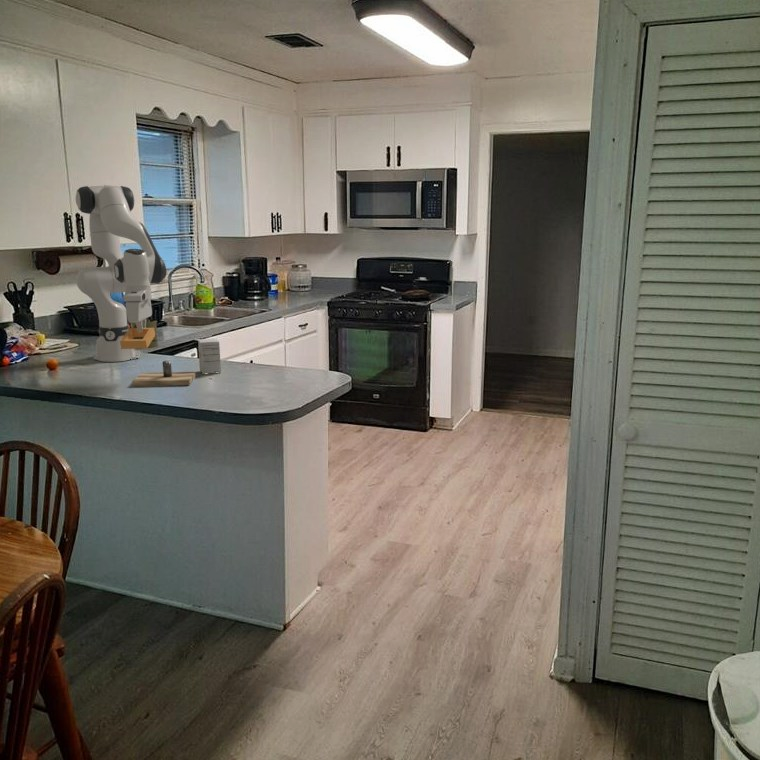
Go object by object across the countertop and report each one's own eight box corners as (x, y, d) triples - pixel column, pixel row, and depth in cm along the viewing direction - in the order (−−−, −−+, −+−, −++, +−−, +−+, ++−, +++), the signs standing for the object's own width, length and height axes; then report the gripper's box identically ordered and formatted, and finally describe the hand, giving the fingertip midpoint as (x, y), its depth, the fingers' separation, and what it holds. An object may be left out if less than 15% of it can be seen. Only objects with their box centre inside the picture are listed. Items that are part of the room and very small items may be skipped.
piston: (138, 323, 321) (125, 321, 328) (141, 349, 324) (127, 346, 331) (160, 320, 329) (147, 318, 336) (162, 346, 332) (149, 343, 339)
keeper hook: (164, 375, 262) (163, 360, 261) (172, 375, 262) (171, 359, 261) (161, 378, 258) (160, 362, 256) (170, 378, 258) (169, 362, 256)
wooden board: (142, 378, 267) (141, 372, 267) (196, 376, 269) (196, 371, 268) (132, 386, 253) (132, 381, 253) (189, 385, 255) (189, 380, 254)
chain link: (130, 335, 263) (129, 328, 262) (155, 335, 264) (154, 327, 262) (121, 349, 251) (119, 341, 250) (147, 348, 252) (145, 340, 251)
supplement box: (199, 371, 279) (197, 339, 276) (218, 369, 281) (216, 338, 278) (201, 374, 272) (199, 342, 269) (221, 373, 274) (219, 341, 272)
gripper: (137, 291, 269) (140, 328, 272) (121, 297, 249) (125, 336, 252) (154, 291, 269) (157, 327, 272) (140, 296, 249) (143, 335, 252)
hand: (141, 331), depth 262 cm, fingers closed on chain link, 2 cm apart
